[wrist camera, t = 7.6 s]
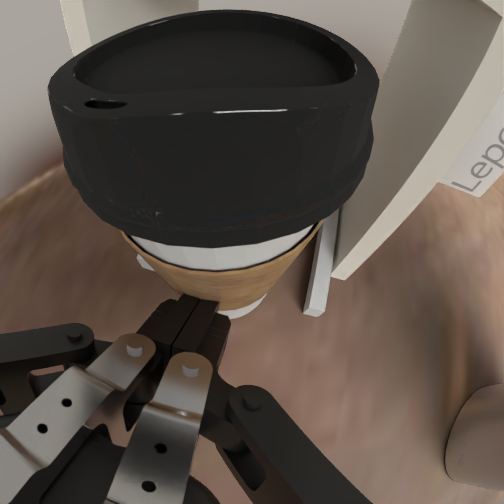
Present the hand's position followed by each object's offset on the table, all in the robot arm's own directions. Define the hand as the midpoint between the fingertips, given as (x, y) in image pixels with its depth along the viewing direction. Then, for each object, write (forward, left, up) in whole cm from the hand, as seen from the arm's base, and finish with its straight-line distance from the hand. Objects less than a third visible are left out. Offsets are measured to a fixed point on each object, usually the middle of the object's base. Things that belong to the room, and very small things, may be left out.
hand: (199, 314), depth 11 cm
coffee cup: (0, -4, -6) cm, 7 cm away
